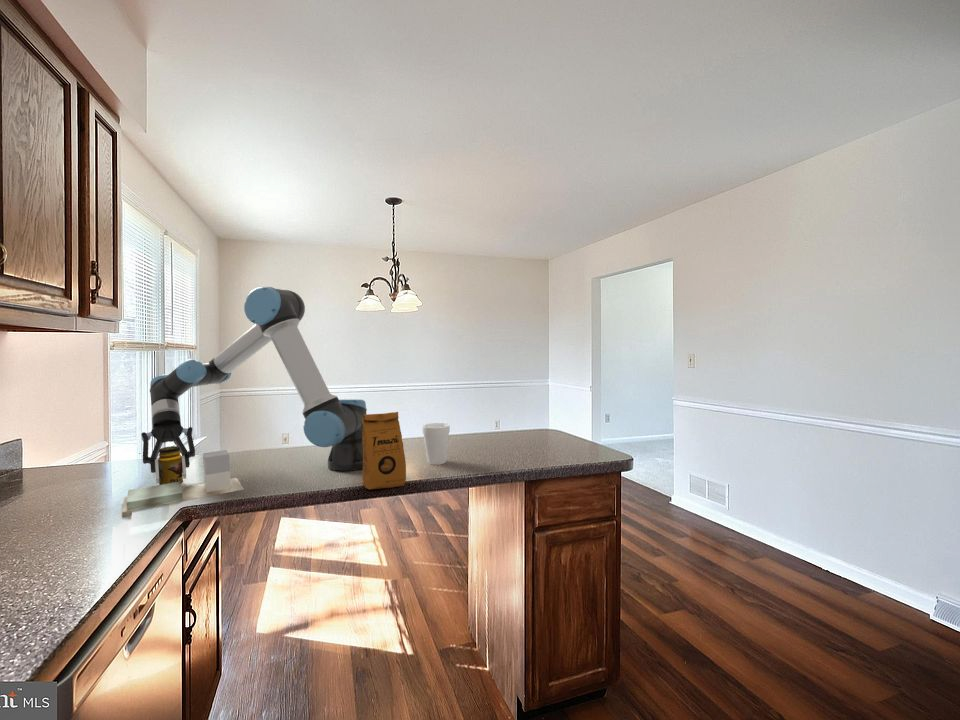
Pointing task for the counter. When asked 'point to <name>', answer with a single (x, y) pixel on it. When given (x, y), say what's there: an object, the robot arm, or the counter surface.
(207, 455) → the block pillar
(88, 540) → the counter surface
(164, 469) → the condiment
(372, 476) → the coffee package
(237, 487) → the build board
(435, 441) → the foam cup
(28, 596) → the counter surface
